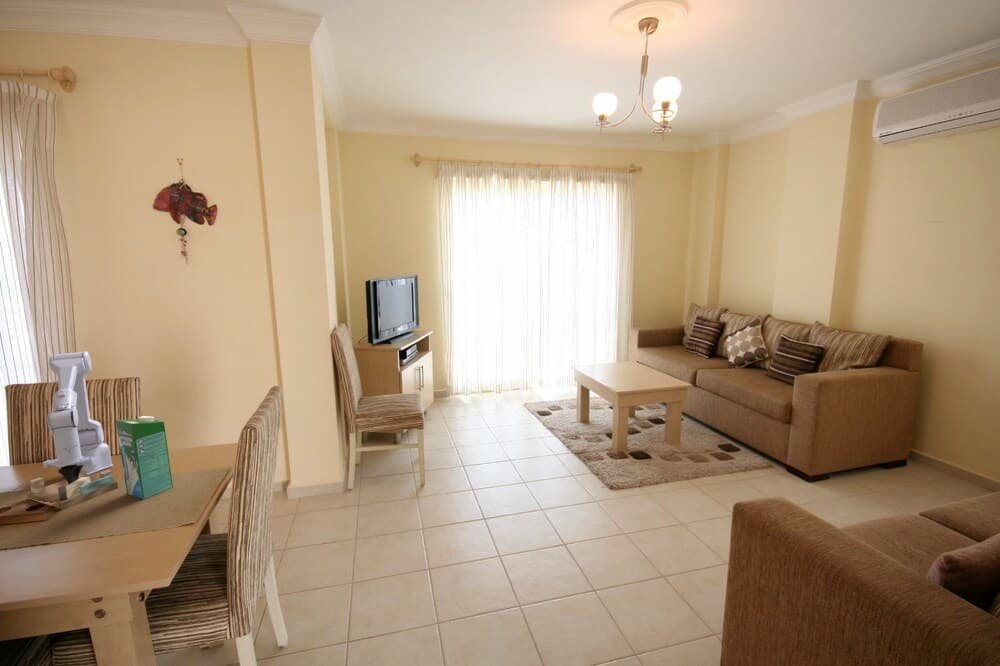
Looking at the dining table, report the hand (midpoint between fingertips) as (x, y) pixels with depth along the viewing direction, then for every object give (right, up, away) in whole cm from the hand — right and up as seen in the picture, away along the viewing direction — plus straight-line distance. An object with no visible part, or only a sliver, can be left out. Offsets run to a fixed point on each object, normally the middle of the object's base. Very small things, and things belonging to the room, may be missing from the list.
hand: (74, 486), depth 148 cm
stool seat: (-2, -3, +2) cm, 4 cm away
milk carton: (+23, -2, +3) cm, 23 cm away
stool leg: (+2, -1, -2) cm, 3 cm away
